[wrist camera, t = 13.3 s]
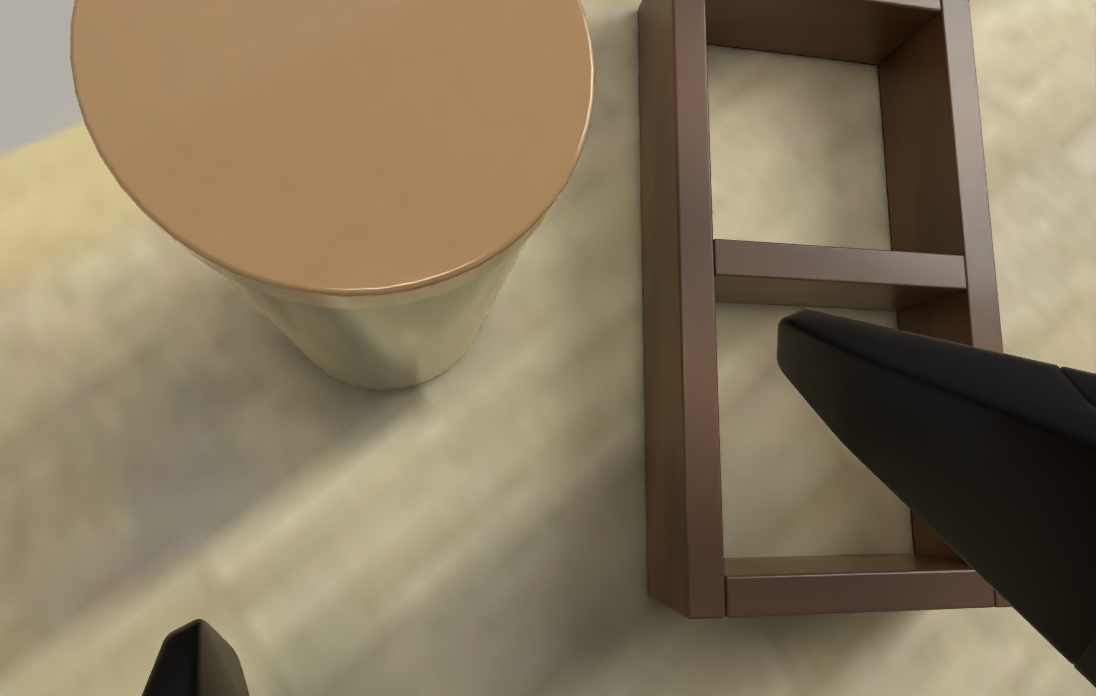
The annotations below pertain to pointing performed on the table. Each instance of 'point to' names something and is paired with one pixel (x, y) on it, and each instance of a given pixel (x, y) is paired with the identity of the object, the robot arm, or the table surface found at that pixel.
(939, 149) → the rack
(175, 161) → the canister
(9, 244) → the table surface
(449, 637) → the table surface
